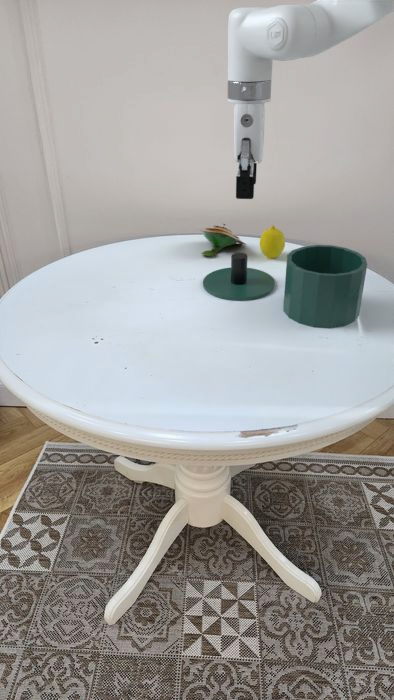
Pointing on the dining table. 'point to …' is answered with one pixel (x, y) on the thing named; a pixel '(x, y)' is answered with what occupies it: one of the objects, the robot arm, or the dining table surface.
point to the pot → (324, 285)
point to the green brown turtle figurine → (219, 239)
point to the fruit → (272, 242)
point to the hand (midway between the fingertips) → (246, 190)
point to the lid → (238, 281)
